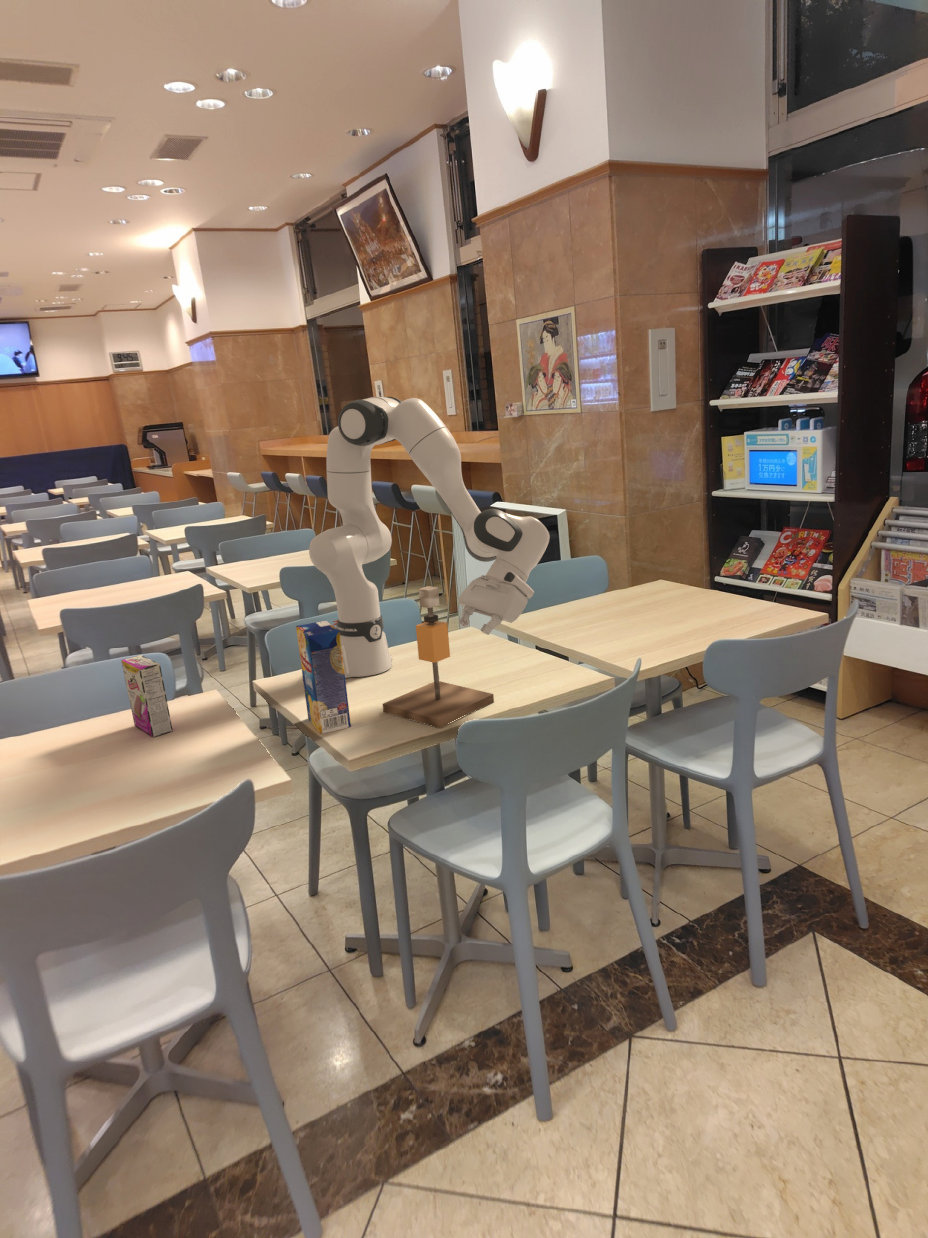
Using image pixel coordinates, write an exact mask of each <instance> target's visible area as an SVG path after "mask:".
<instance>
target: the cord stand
mask: <svg viewBox="0 0 928 1238" xmlns="http://www.w3.org/2000/svg"><path fill="white" fill-rule="evenodd" d="M418 597H419V605H420V606H419V607H420V608H426V609H427V614H426V615H424V616H423V621H424V622H427V623H429V625H434V622H436V621H439V615H438V614H436V613H435V614H434V608H435V607H437V606H440V595H439V587H436V586H430V585H429V586H428V585H427V586H425V587H422V588H421V587H420V588H419V589H418ZM424 622H423V623H424ZM438 662H439V661H438ZM438 662H436V663H433V662H431V664H432V675H433V676H432V677H433V682H430V683H428V684H426V685H423V686H421V687H419V688H416V689H414V690H412V691H410V692H407V693H404V694H403V695H400V696H398V697H395V698H393V699H391V700H388V701H386V702H384V703H382V710H383V711H382V712H383V713H385V712H386V713H385V714H389V713H390V714H389V715H392V714H393V716H396V715H397V716H396V717H399V716H400V718H404V719H406V720H409V719H410V720H409V721H413V720H414V722H416V721H417V723H420V722H421V723H420V724H423V723H425V724H424V725H427V724H428V725H427V726H430V725H432V726H431V727H434V726H435V727H434V728H437V727H438V729H442V728H444V727H446V726H448V725H449V724H448V723H450V722H452V721H454V720H456V719H458V718H460V717H462V716H464V715H466V714H468V713H471V712H473V713H475V712H476V711H475V710H477V711H479V710H481V709H483V708H485V707H487V706H489V705H491V704H493V703H495V699H494V698H495V697H494V696H495V695H494V693H491V692H487V691H482V690H479V689H473V688H470V687H465V686H462V685H459V684H453V683H449V682H444V681H440V676H439V673H440V672H439V663H438ZM480 708H481V709H480ZM478 709H479V710H478ZM474 711H475V712H474ZM471 714H472V713H471ZM462 718H463V717H462ZM460 719H461V718H460ZM458 720H459V719H458ZM456 721H457V720H456ZM454 722H455V721H454ZM452 723H453V722H452ZM447 724H448V725H447ZM450 724H451V723H450ZM445 725H446V726H445ZM443 726H444V727H443Z"/></svg>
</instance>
